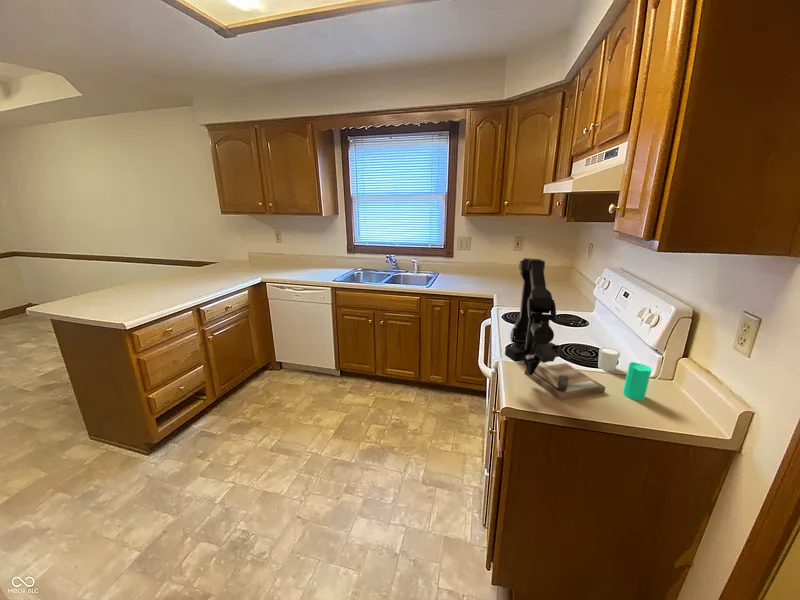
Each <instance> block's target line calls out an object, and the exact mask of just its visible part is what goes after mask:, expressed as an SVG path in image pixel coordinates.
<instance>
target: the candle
mask: <svg viewBox="0 0 800 600" xmlns="http://www.w3.org/2000/svg"><path fill="white" fill-rule="evenodd" d="M651 374H652V368H651V367H650V366H648V365H647V364H642V361H641V362H634V361H631V362H629V364H628V367H627V373H626V376H625V380H624V385H623V391H622V394H623V395H624V396H626V398H629V399H631V400H634V401H635V399H636V401H643V400H644V399H645V398H646V393H647V389H648V385H649V381H650V377H651Z"/></svg>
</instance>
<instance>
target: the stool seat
mask: <svg viewBox="0 0 800 600" xmlns="http://www.w3.org/2000/svg"><path fill="white" fill-rule="evenodd" d="M547 365H548V366H550V367H551V368H553V369H555V370H556V371H558V372H559V373H561V374H562V375H564V376H566V377H568V378H569V380H568V385H567V390H560V389H558V388H556V387H555V386H554V385H552V384H551V383H549V382H548V381H547V380H545V379H544V378H542V377H541V376H540V375H538V374H537V373H535V372H534V373H533V374H532V375H529V374H528V371H527V368H525V369H524V375H526V376H527V375H528V376H529V377H528V376H527V377H528V378H530V379H531V378H532V379H533V382H535V381H536V382H537V383H536V382H535V383H536V384H538V386H540V385H541V386H540V387H542V388H543V389H544V388H545V390H546V391H547V392H548V391H549V392H548V393H550V394H551V395H553V396H554V397H555V398H557V399H558V400H559V401H564V400H569V399H573V398H579V397H580V398H581V397H586V396H590V395H597V394H602V393H605V390H606V386H605V385H603V384H602V383H599V382H598V381H597V380H595V379H593V378H591V377H589V376H588V375H586V374H585V373H583V372H582V371H579V370H578V369H576V368H574V367H573V366H571V365H570V364H568V363H566V362H564V363H557V364H556V363H555V364H547ZM532 379H531V380H532Z"/></svg>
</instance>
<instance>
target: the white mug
mask: <svg viewBox="0 0 800 600" xmlns="http://www.w3.org/2000/svg"><path fill="white" fill-rule="evenodd" d="M620 356H621V352H620V351H618V350H616V349H614V348H611V347H600V348H599V350H598V360H597V361H598V363H597V367H598V368H599V369H600V370H603V371H606V372H614V371H615V370H616V368H617V364H618V361H619V358H620Z"/></svg>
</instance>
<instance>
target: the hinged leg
mask: <svg viewBox="0 0 800 600" xmlns="http://www.w3.org/2000/svg"><path fill="white" fill-rule="evenodd" d="M548 365H549V364H547V363H546V362H545V363H544V362H542V361H541V362H540V363H539V364H538V366H537V368H536V369H535V371H534V372H535V373H537V374H538V375H540V376H541V377H542V378H544V379H545V380H547V381H548V382H549V383H551V384H552V385H554V386H555V387H556V388H558V389H560V390H567V385H568V380H569V378H568V377H566V376H564V375H562V374H561V373H559V372H558V371H556V370H555V369H553V368H551V367H550V366H548Z"/></svg>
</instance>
